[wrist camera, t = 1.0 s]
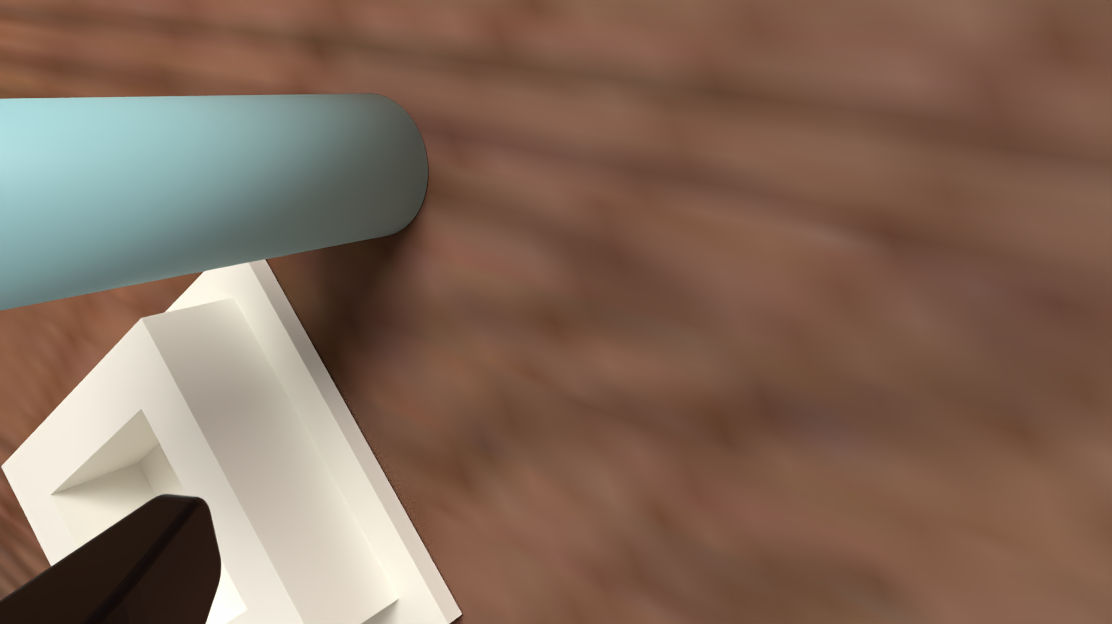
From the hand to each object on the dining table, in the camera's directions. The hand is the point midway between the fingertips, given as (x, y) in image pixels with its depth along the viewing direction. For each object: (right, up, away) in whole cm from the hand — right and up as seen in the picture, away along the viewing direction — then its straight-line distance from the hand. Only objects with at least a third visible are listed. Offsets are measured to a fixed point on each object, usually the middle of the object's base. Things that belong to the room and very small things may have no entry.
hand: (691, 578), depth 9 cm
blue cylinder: (-6, +6, +16) cm, 18 cm away
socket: (-11, -3, +22) cm, 25 cm away
